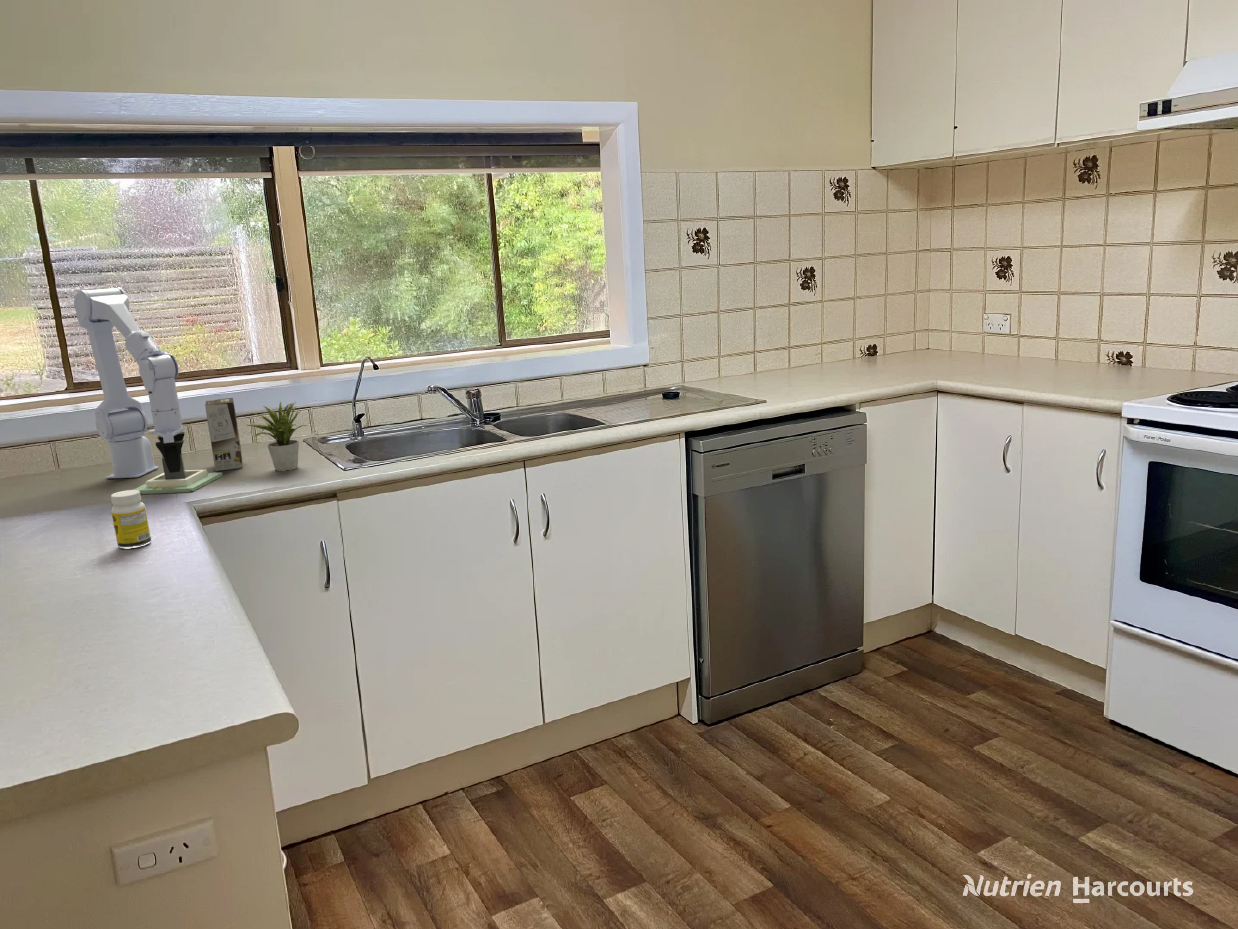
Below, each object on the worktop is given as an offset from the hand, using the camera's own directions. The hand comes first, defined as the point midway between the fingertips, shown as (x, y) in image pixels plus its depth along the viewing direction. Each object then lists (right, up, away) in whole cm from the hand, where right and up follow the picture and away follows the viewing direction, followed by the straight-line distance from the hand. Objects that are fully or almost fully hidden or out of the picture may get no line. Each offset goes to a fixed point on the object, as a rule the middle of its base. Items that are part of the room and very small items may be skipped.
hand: (175, 468), depth 213 cm
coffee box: (+5, 0, +17) cm, 18 cm away
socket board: (0, -4, +1) cm, 4 cm away
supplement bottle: (+13, -14, -43) cm, 47 cm away
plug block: (0, -3, +1) cm, 3 cm away
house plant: (+21, 0, +12) cm, 24 cm away
